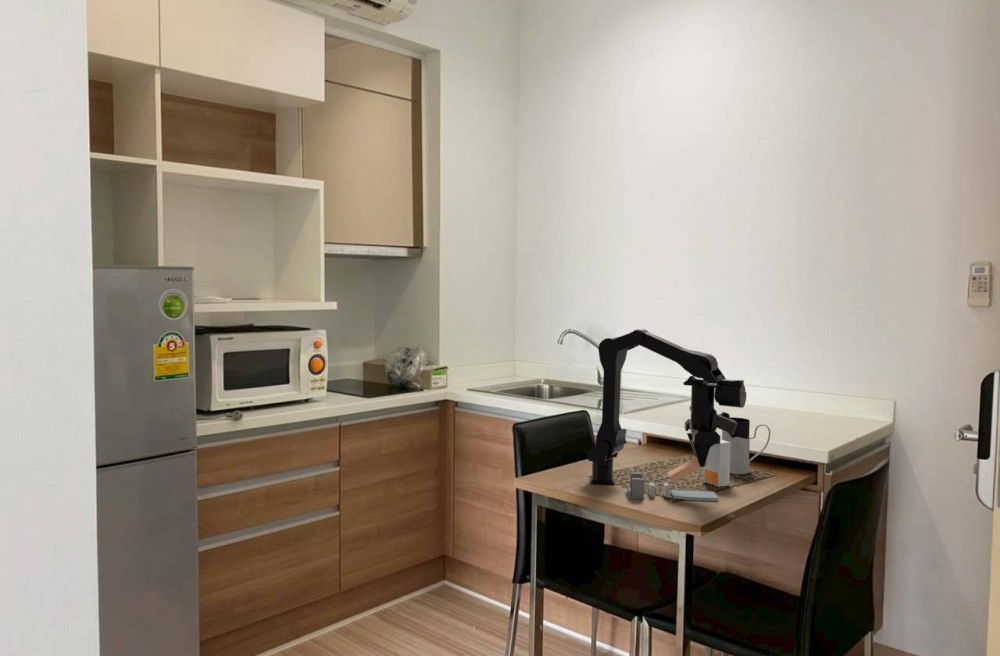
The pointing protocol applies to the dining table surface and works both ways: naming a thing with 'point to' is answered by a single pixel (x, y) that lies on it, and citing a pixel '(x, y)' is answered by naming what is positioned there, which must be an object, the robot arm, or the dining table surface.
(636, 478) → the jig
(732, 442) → the grey mug
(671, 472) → the bar
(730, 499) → the dining table surface
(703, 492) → the mat
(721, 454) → the skincare box
